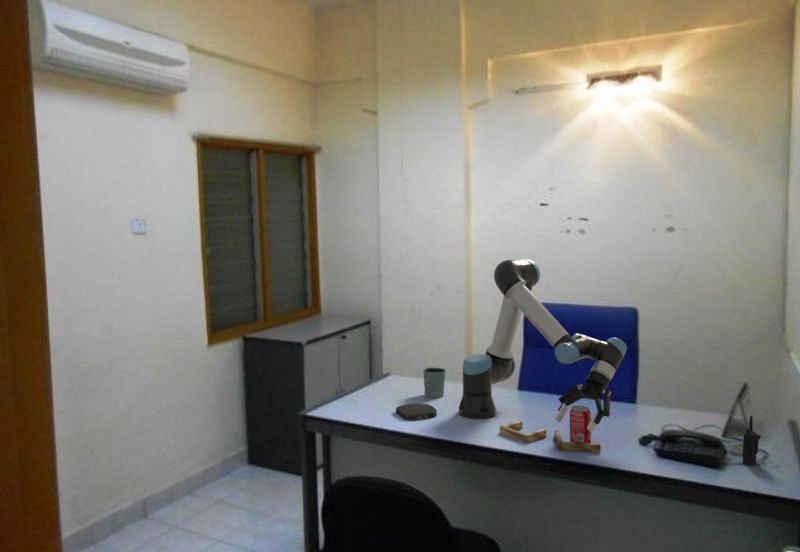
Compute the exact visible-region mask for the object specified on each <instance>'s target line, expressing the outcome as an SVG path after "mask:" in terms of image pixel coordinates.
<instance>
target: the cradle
mask: <svg viewBox="0 0 800 552" xmlns="http://www.w3.org/2000/svg"><path fill="white" fill-rule="evenodd" d="M554 438H555V442H556V446H557V447H556V448H557V450H559V451H561V452H562V451H563V452H565V451H566V452H582V453H583V452H586V453H588V452H589V453H601V447H602V446H601V443H596V442H591V443H577V442H570V441H563V438H562V436H561V432H560V430H559V429H554Z"/></svg>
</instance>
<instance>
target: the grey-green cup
mask: <svg viewBox="0 0 800 552" xmlns="http://www.w3.org/2000/svg"><path fill="white" fill-rule="evenodd" d="M446 371H447V370H446V369H445V368H443V367H426V368H424V369H423V370H422V373H423V387H424V396H425V398H430V399H440V398H443V397H444V394H445V393H444V392H445V380H446Z"/></svg>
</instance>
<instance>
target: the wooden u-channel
mask: <svg viewBox="0 0 800 552" xmlns="http://www.w3.org/2000/svg"><path fill="white" fill-rule="evenodd" d="M522 429H523V421H521V420H518V421H514V422H510V423H507V424H503V425H500V426H499V434H501V435H504V436H506V437H509V438H512V439H514V440H516V441H520V442H522V443H525V444H527V443H531V442H534V441H536V440H539V439H543V438H546V437H547V429H545V428H540V429H538V430H536V431H532V432H528V433H524V432H521V431H519V430H522Z"/></svg>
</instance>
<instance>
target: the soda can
mask: <svg viewBox="0 0 800 552" xmlns="http://www.w3.org/2000/svg"><path fill="white" fill-rule="evenodd" d="M591 419H592V413H591V411H590V407H588V406H585V405H572V406H571V407H570V411H569V442H577V443H592V433H590V432H589V430H588V429H587V427H588V425H589V423H590V421H591Z"/></svg>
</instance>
